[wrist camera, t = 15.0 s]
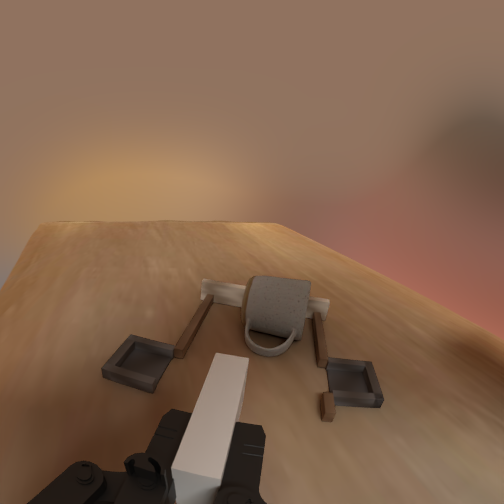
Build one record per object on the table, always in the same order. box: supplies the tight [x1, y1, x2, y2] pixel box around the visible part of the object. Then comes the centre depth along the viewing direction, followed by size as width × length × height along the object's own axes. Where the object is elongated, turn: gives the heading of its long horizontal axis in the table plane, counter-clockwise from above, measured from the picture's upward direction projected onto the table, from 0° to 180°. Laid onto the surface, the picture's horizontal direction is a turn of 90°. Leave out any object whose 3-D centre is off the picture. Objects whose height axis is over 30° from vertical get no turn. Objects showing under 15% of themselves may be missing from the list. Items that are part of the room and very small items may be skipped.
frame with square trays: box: [101, 279, 384, 422], centre depth 37 cm, size 28×23×3 cm
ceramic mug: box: [241, 276, 311, 356], centre depth 39 cm, size 11×8×8 cm
